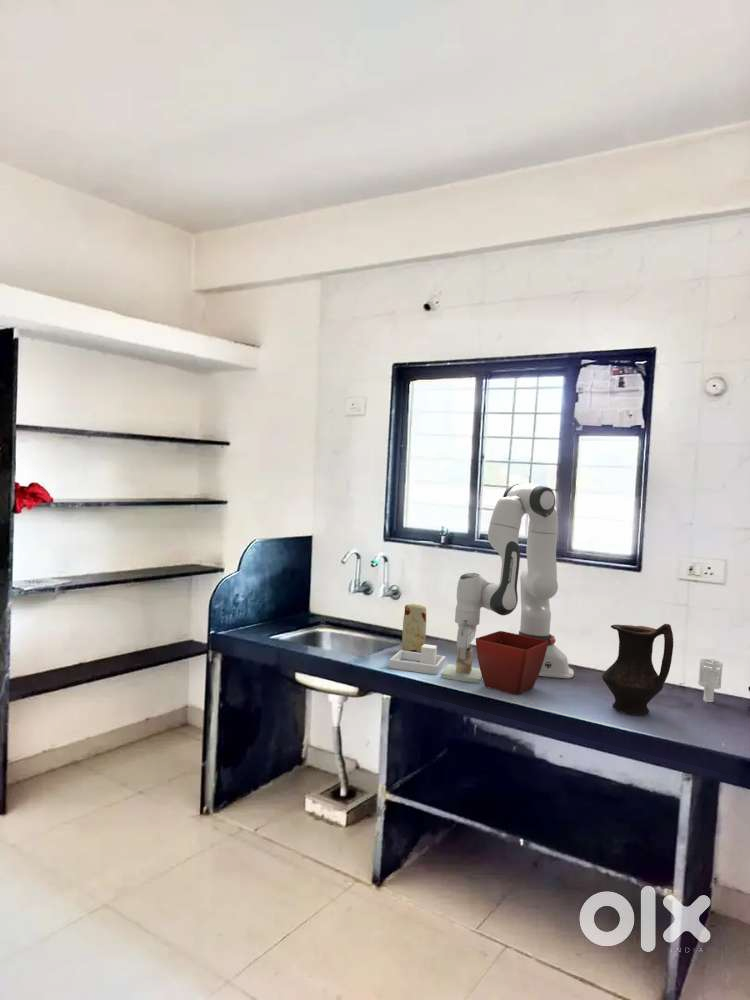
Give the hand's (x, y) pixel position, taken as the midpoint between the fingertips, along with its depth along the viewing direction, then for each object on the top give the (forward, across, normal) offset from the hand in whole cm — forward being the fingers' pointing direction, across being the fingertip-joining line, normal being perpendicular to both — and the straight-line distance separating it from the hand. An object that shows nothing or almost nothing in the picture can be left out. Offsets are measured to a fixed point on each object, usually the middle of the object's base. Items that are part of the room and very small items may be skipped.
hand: (464, 656), depth 249 cm
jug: (+7, -14, -57) cm, 59 cm away
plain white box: (+7, +4, +14) cm, 16 cm away
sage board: (+7, 0, 0) cm, 7 cm away
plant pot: (+7, -7, -17) cm, 20 cm away
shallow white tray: (+7, +4, +18) cm, 20 cm away
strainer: (+7, +11, -83) cm, 84 cm away
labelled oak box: (+6, 0, 0) cm, 6 cm away
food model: (+7, +22, +24) cm, 33 cm away
